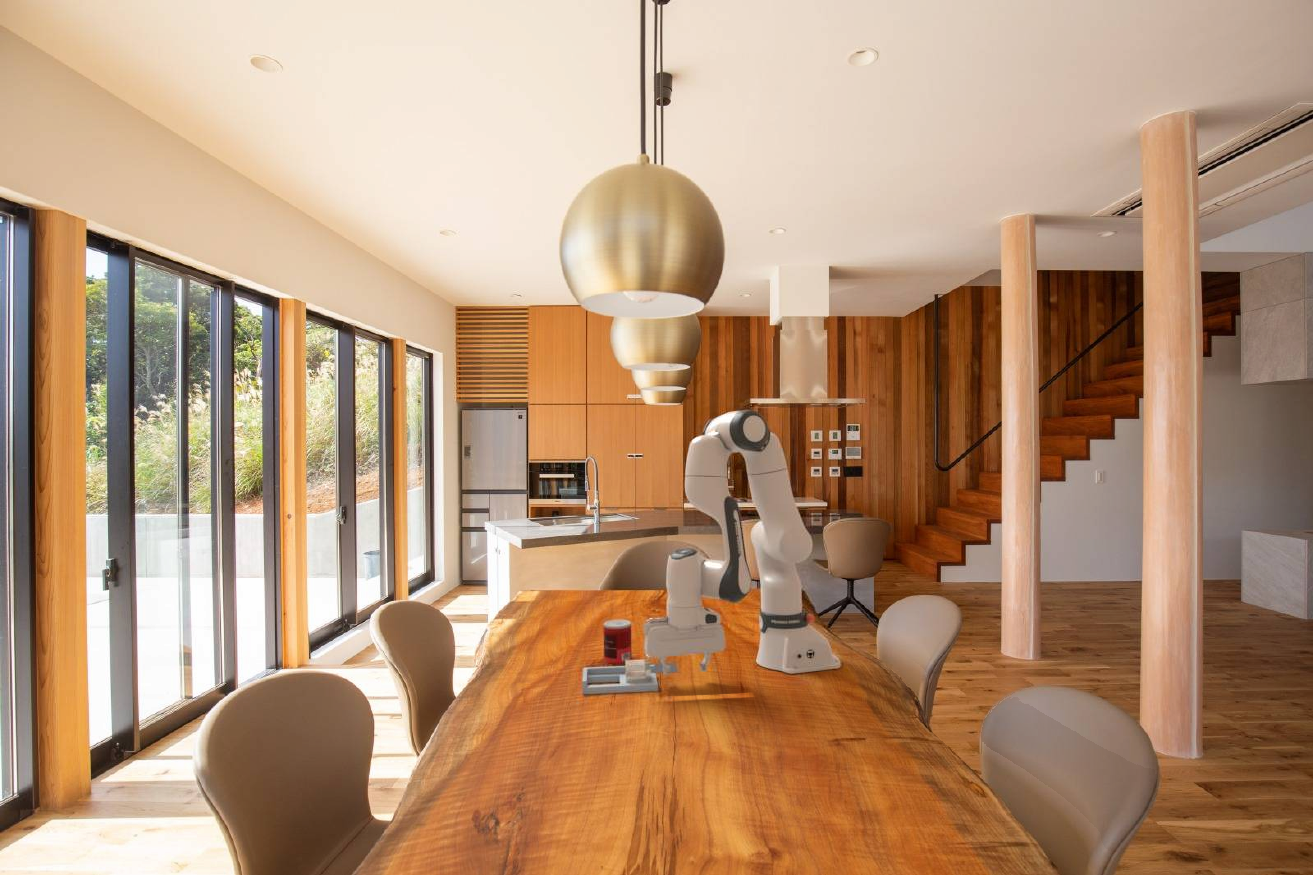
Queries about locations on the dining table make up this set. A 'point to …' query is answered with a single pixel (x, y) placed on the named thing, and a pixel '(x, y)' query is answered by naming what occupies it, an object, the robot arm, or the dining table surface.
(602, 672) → the grey slotted tray
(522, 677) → the dining table surface
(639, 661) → the white boxy piece
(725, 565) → the robot arm
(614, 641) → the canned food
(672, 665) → the pad
